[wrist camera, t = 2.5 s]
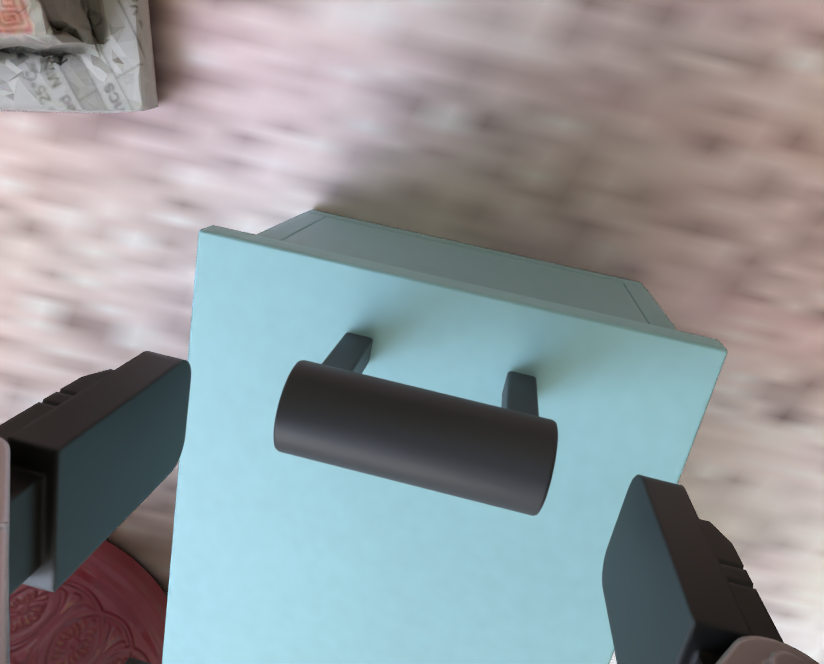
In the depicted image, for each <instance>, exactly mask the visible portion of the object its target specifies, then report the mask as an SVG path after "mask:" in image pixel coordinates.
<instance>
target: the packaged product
mask: <svg viewBox="0 0 824 664" xmlns="http://www.w3.org/2000/svg"><path fill="white" fill-rule="evenodd" d="M155 107H158V99H157V88H156V78H155V67H154V57H153V46H152V36H151V25H150V15H149V4H148V0H0V111H33V112H72V113H121V112H134V111H145V110H148V109H152V108H155Z"/></svg>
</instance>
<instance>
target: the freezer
mask: <svg viewBox="0 0 824 664" xmlns="http://www.w3.org/2000/svg"><path fill="white" fill-rule="evenodd" d="M257 235H258V236H263V237H267V238H272V239H276V240H281V241H285V242H289V243H294V244H298V245H303V246H307V247H311V248H316V249H320V250H325V251H329V252H333V253H338V254H342V255H347V256H351V257H355V258H360V259H364V260H369V261H373V262H378V263H382V264H386V265H391V266H395V267H400V268H404V269H408V270H413V271H417V272H422V273H426V274H430V275H435V276H439V277H444V278H448V279H452V280H457V281H461V282H466V283H470V284H475V285H479V286H483V287H488V288H492V289H497V290H501V291H505V292H510V293H514V294H519V295H523V296H527V297H532V298H536V299H541V300H545V301H549V302H554V303H558V304H563V305H567V306H571V307H576V308H580V309H585V310H589V311H594V312H598V313H602V314H607V315H611V316H616V317H620V318H624V319H629V320H633V321H638V322H642V323H646V324H651V325H655V326H660V327H664V328H668V329H673V330H677V329H676V328H675V327H674V325H673V324H672V323H671V321H670V320H669V319H668V317H667V316H666V314H665V313H664V312H663V310H662V309H661V308H660V306H659V305H658V304H657V302H656V301H655V300H654V298H653V297H652V296H651V294H650V293H649V292H648V290H647V289H646V288H645V287H644V286H643V285H642V283H640V282H636V281H631V280H627V279H622V278H618V277H613V276H609V275H604V274H600V273H595V272H591V271H586V270H582V269H577V268H573V267H568V266H564V265H559V264H555V263H550V262H546V261H541V260H537V259H532V258H528V257H523V256H519V255H514V254H510V253H505V252H501V251H496V250H492V249H487V248H482V247H478V246H473V245H469V244H464V243H460V242H455V241H451V240H446V239H442V238H437V237H433V236H428V235H424V234H419V233H415V232H410V231H406V230H401V229H397V228H392V227H388V226H383V225H379V224H374V223H370V222H365V221H361V220H356V219H352V218H347V217H343V216H338V215H334V214H329V213H325V212H320V211H316V210H310V211H308V212H305V213H303V214H300V215H298V216H296V217H294V218H292V219H289V220H287V221H285V222H283V223H281V224H279V225H276V226H274V227H272V228H270V229H268V230H265V231H263V232H261V233H259V234H257Z"/></svg>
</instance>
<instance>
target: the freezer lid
mask: <svg viewBox="0 0 824 664" xmlns="http://www.w3.org/2000/svg"><path fill="white" fill-rule="evenodd" d="M726 355H727V349H726V348H725V347H724V346H723V345H722V344H721V343H720V341H718V340H717V339H713V338H708V337H704V336H699V335H695V334H691V333H686V332H682V331H677V330H673V329H668V328H664V327H660V326H655V325H651V324H646V323H642V322H638V321H633V320H629V319H624V318H620V317H616V316H611V315H607V314H602V313H598V312H594V311H589V310H585V309H580V308H576V307H571V306H567V305H563V304H558V303H554V302H549V301H545V300H541V299H536V298H532V297H527V296H523V295H519V294H514V293H510V292H505V291H501V290H497V289H492V288H488V287H483V286H479V285H475V284H470V283H466V282H461V281H457V280H452V279H448V278H444V277H439V276H435V275H430V274H426V273H422V272H417V271H413V270H408V269H404V268H400V267H395V266H391V265H386V264H382V263H378V262H373V261H369V260H364V259H360V258H355V257H351V256H347V255H342V254H338V253H333V252H329V251H325V250H320V249H316V248H311V247H307V246H303V245H298V244H294V243H289V242H285V241H281V240H276V239H272V238H267V237H263V236H258V235H254V234H250V233H245V232H241V231H236V230H232V229H228V228H223V227H219V226H214V225H213V226H210V227H207V228H204V229H201V230H200V231H199V237H198V248H197V260H196V272H195V283H194V295H193V307H192V318H191V330H190V342H189V353H188V362H189V364H190V366H191V384H190V394H189V404H188V414H187V424H186V434H185V442H184V446H183V450H182V453H181V456H180V458H179V470H178V482H177V493H176V505H175V517H174V529H173V540H172V552H171V564H170V575H169V587H168V599H167V610H166V622H165V634H164V645H163V657H162V664H609V663H610V661H611V658H612V655H613V653H614V645H613V640H612V634H611V629H610V624H609V619H608V614H607V609H606V603H605V598H604V593H603V588H602V569H603V562H604V557H605V553H606V550H607V546H608V544H609V541H610V538H611V535H612V532H613V530H614V527H615V524H616V521H617V518H618V516H619V513H620V510H621V507H622V504H623V502H624V499H625V496H626V493H627V490H628V488H629V485H630V483H631V481H632V479H633V478H634V477H635V476H636V475H638V474H639V475H643V476H647V477H651V478H655V479H659V480H663V481H667V482H671V483H675V484H678V481H679V479H680V476H681V473H682V471H683V468H684V466H685V463H686V460H687V458H688V455H689V452H690V450H691V447H692V444H693V442H694V439H695V437H696V434H697V431H698V429H699V426H700V423H701V421H702V418H703V415H704V413H705V410H706V408H707V405H708V402H709V400H710V397H711V394H712V392H713V389H714V386H715V384H716V381H717V379H718V376H719V373H720V371H721V368H722V365H723V363H724V360H725V358H726Z"/></svg>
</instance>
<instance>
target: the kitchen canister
mask: <svg viewBox="0 0 824 664" xmlns="http://www.w3.org/2000/svg"><path fill="white" fill-rule="evenodd" d="M167 599H168V598H167V596H166V595H165V593H164V592H163V590H162V589H161V587H160V586H159V585H158V583H157V582H156V581H155V580H154V579H153V577H152V576H151V575H150V574H149V573H148V572H147V571H146V570H145V569H144V568H143V567H142V566H141V565H140V564H139V563H138V562H136V561H135V560H134V559H133V558H132V557H130V556H129V555H128V554H126V553H125V552H124V551H122V550H121V549H119V548H118V547H116V546H115V545H113V544H111V543H110V542H108V541H106V540H105V541H104V542H103V543H102V544H101V545H100V546H99V547H98V548H97V549H96V550H95V551H94V552H93V553H92V554H91V555H90V556H89V557H88V558H87V559H86V560H85V561H84V562H83V563H82V564H81V565H80V566H79V567H78V568H77V569H76V571H75V572H74V573H73V574H72V575H71V576H70V577H69V578H68V579H67V580H66V581H65V582H64V583H63V584H62V585H61V586H60V587H59V588H58V589H57V590H56V591H55V592H54V593H53V592H50V591H46V590H43V589H39V588H35V587H32V586H28V585H25V584H21V585H20V586H19V587H18V588H17V589H16V590H15V591H14V592H13V593H12V594H11V595H10V650H9V664H125V662H126V661H127V660H128V658H129V657H131V658H134V659H138V660H141V661H145V662H148V663H152V664H162V657H163V645H164V634H165V622H166V610H167Z"/></svg>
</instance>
